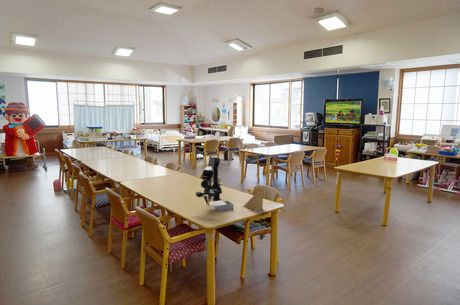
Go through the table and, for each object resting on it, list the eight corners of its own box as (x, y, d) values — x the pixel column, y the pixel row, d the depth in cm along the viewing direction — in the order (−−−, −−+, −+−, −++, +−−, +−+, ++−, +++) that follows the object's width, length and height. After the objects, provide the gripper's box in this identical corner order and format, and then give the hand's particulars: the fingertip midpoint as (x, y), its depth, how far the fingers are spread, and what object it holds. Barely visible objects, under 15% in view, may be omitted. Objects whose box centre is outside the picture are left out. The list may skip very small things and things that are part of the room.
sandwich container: (249, 204, 264) (250, 187, 262) (262, 209, 253) (263, 191, 250) (242, 206, 258) (243, 189, 256) (255, 211, 247) (256, 193, 245)
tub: (213, 207, 254) (214, 202, 253) (228, 205, 259) (228, 200, 259) (218, 211, 245) (218, 206, 244) (233, 209, 251) (233, 204, 250)
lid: (204, 203, 250) (204, 197, 249) (221, 201, 256) (221, 195, 256) (209, 207, 240) (209, 201, 240) (226, 204, 247) (226, 199, 246)
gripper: (200, 188, 232) (200, 208, 234) (222, 186, 240) (222, 205, 242) (195, 185, 241) (195, 204, 244) (217, 182, 250) (216, 201, 252)
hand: (207, 203), depth 245 cm, fingers closed on lid
